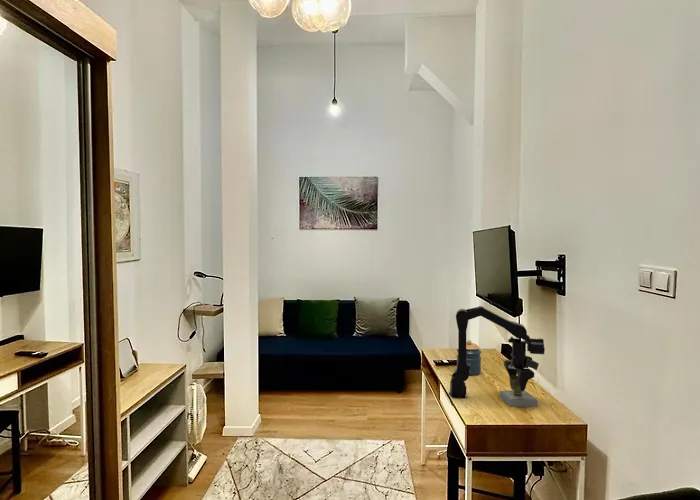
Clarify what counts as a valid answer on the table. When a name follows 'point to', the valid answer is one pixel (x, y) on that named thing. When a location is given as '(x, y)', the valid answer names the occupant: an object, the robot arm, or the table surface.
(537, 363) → the robot arm
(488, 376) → the table surface
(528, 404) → the slate base
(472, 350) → the canister
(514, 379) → the cup
